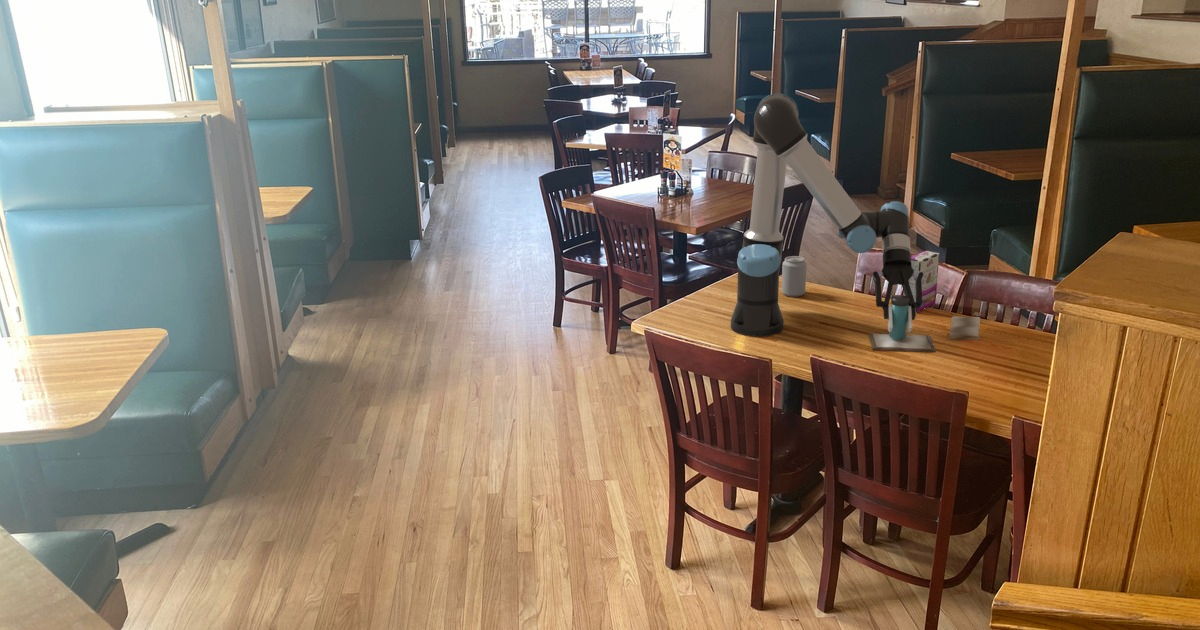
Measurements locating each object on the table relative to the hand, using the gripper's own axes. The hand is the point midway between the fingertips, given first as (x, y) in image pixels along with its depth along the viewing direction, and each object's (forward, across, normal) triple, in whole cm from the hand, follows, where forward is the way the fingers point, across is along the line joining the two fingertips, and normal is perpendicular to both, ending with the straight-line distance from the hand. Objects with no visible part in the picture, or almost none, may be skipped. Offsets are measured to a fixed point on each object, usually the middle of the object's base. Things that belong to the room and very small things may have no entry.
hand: (900, 329), depth 234 cm
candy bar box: (-20, -10, -27) cm, 35 cm away
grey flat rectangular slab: (+2, -1, -5) cm, 6 cm away
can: (-27, +27, -34) cm, 51 cm away
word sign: (-2, -18, -9) cm, 20 cm away
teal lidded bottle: (0, 0, -5) cm, 5 cm away
